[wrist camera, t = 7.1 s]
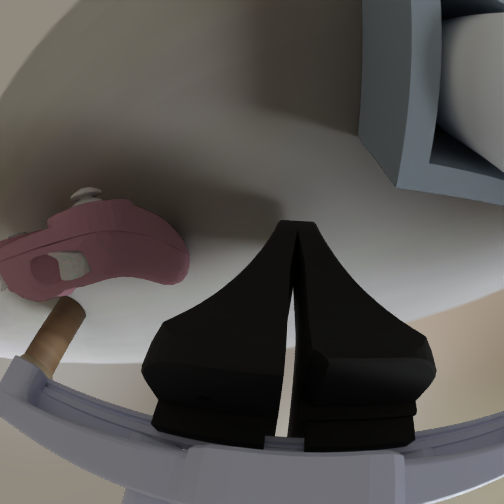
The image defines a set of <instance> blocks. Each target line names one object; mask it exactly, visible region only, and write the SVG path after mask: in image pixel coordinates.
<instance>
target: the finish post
mask: <svg viewBox="0 0 504 504" xmlns="http://www.w3.org/2000/svg"><path fill="white" fill-rule="evenodd" d="M85 317H86V314H85V311H84V309H83V308H82V307H81V306H80V304H78V303H77V302H76V301H75V300H73V299H72V298H70V297H67V296H62V297H61V298H60V300H59V301H58V303H57V304H56V305H55V307H54V308H53V310H52V311H51V313H50V314H49V316H48V317H47V319H46V320H45V322H44V323H43V325H42V326H41V328H40V329H39V331H38V333H37V334H36V336H35V337H34V339H33V341H32V342H31V344H30V345H29V347H28V349H27V350H26V352H25V354H23V355H22V356H20V357H21V358H23V359H25V360H27V361H29V362H31V363H33V364H35V365H36V366H37V367H39V368H40V369H41V370H42V371H43V372H44V373H45V374H46V376H47V377H48V378H49V379H51V380H52V375H53V373H54V372H55V369H56V368H57V366H58V364H59V362H60V360H61V358H62V357H63V355H64V353H65V351H66V349H67V348H68V346H69V344H70V342H71V341H72V339H73V337H74V335H75V334H76V332H77V330H78V329H79V327H80V325H81V324H82V322H83V320H84V319H85Z"/></svg>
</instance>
